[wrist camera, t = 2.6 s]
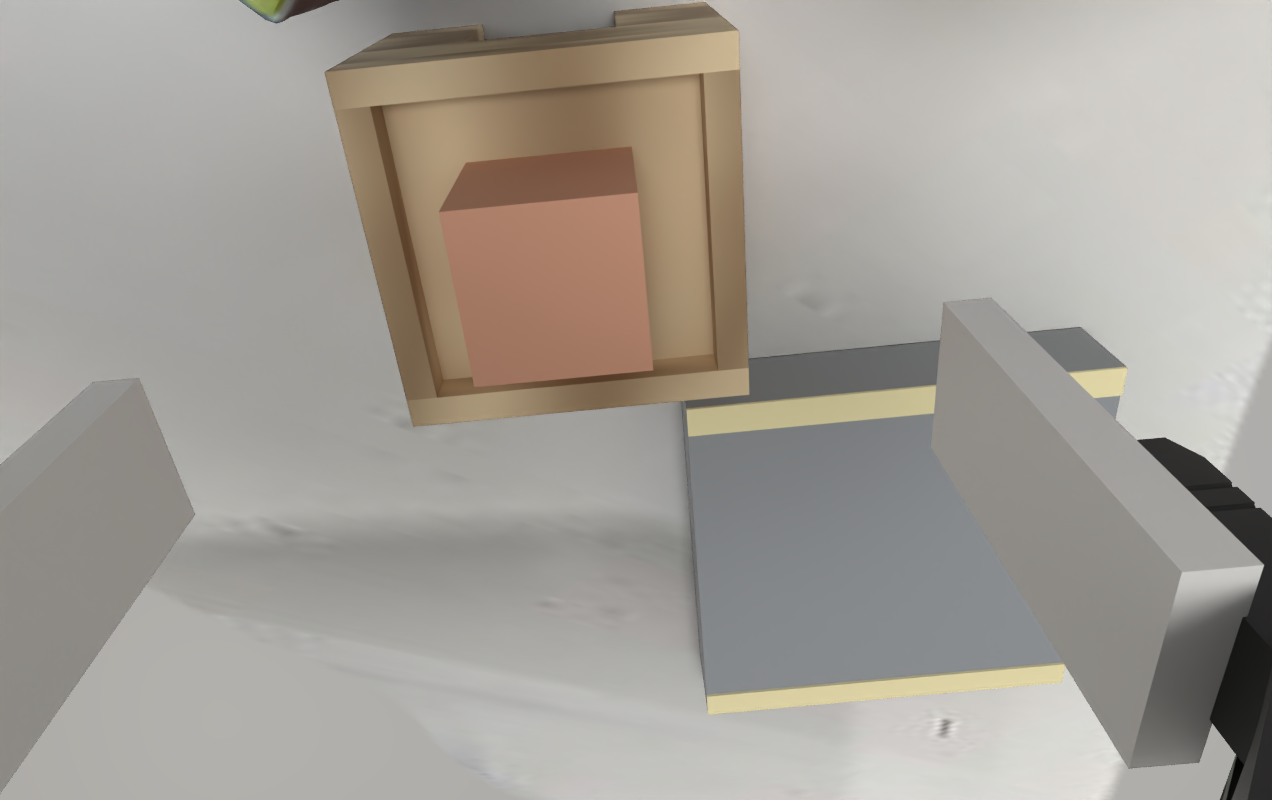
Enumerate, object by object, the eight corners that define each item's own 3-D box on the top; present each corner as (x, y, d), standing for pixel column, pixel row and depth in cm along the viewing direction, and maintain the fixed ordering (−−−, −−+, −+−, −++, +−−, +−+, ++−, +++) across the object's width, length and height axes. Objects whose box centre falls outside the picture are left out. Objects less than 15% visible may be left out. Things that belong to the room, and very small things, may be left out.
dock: (700, 656, 37) (708, 714, 35) (678, 365, 30) (686, 410, 28) (1028, 626, 37) (1061, 682, 34) (1080, 327, 30) (1128, 368, 28)
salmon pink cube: (493, 315, 23) (474, 387, 19) (465, 162, 21) (438, 212, 17) (645, 300, 23) (653, 370, 19) (631, 146, 21) (638, 192, 17)
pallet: (452, 320, 29) (413, 426, 23) (392, 33, 25) (324, 71, 19) (718, 294, 29) (749, 394, 23) (704, 1, 25) (738, 30, 19)
